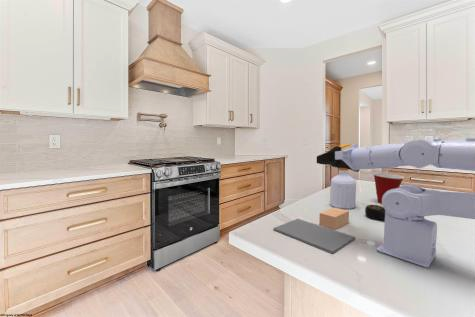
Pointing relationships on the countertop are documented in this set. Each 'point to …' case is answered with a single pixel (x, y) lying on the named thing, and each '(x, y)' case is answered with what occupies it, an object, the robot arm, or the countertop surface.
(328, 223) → the card case
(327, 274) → the countertop surface
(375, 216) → the tape measure
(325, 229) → the mat
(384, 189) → the plastic cup
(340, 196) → the soap bottle
